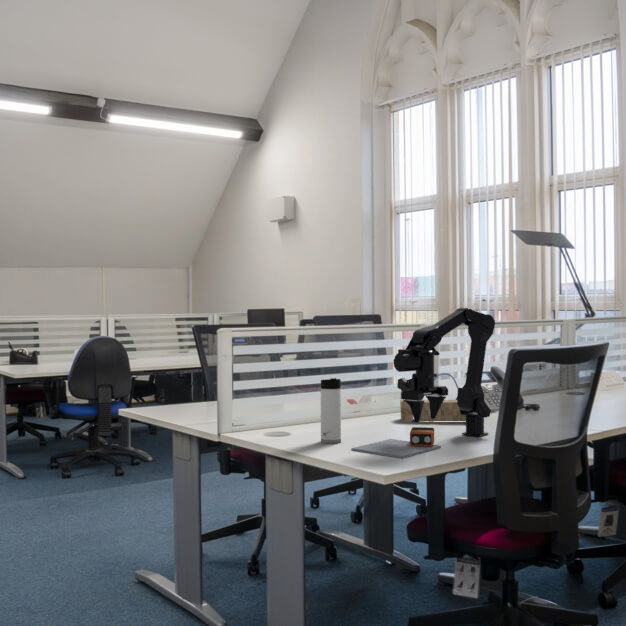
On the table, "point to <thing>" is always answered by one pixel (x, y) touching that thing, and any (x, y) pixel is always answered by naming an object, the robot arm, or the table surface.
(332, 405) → the travel mug
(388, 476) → the table surface
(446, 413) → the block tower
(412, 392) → the robot arm
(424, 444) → the battery
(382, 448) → the mat
